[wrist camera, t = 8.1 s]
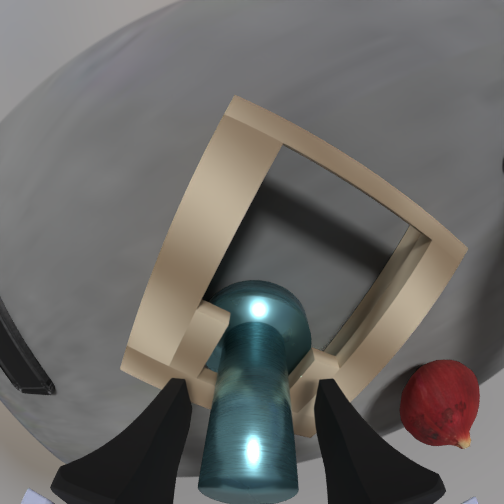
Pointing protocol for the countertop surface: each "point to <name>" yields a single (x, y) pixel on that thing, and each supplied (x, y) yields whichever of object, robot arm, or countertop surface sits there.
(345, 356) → the beige wooden frame
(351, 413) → the robot arm
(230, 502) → the peg
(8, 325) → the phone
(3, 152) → the countertop surface
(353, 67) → the countertop surface
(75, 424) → the countertop surface
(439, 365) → the onion
